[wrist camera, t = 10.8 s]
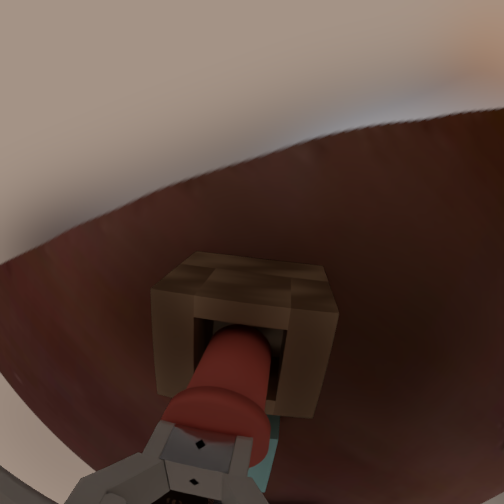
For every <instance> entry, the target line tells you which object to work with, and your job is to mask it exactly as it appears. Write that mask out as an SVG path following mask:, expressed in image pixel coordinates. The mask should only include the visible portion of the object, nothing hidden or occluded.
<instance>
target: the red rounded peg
mask: <svg viewBox="0 0 504 504" xmlns="http://www.w3.org/2000/svg"><path fill="white" fill-rule="evenodd" d="M271 356H272V351H271V346H270V343H269V341H268V340H267V338H266V337H265V336H264V335H263V334H262V333H261V332H259V331H258V330H256V329H255V328H252V327H250V326H247V325H242V324H233V325H228V326H225V327H222V328H221V329H219V330H218V331H216V332H215V333H214V335H213V336H212V338H211V340H210V342H209V344H208V346H207V348H206V350H205V352H204V354H203V356H202V358H201V360H200V362H199V364H198V366H197V368H196V370H195V372H194V374H193V376H192V378H191V380H190V382H189V384H188V386H187V389H185V390H183V391H181V392H179V393H178V394H176V395H175V396H174V397H173V398H172V400H171V401H170V403H169V405H168V406H167V408H166V410H165V412H164V414H163V416H162V418H161V420H164V421H168V422H172V423H176V424H180V425H184V426H188V427H192V428H196V429H201V430H205V431H206V430H208V431H213V432H219V433H226V434H232V435H238V436H245V437H252V438H253V444H252V451H251V457H250V464H249V468H251V467H253V466H255V465H257V464H259V463H260V462H261V461H262V460H263V459H264V458H265V457H266V455H267V453H268V450H269V441H270V432H271V426H270V421H269V419H268V417H267V415H266V413H265V412H264V411H265V403H266V396H267V388H268V380H269V373H270V364H271Z"/></svg>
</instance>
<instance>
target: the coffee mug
mask: <svg viewBox="0 0 504 504" xmlns="http://www.w3.org/2000/svg"><path fill="white" fill-rule="evenodd" d="M169 490H170V489H169ZM207 502H208V500H207V498H206V497H202V496H197V495H193V494H188V493H183V492H179V491H175V490H170V491H169V492H167V493H166V494H164V495H163V496H162V497H160V498H159V499H157V500H156V501H154V502H153V503H151V504H207Z"/></svg>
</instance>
